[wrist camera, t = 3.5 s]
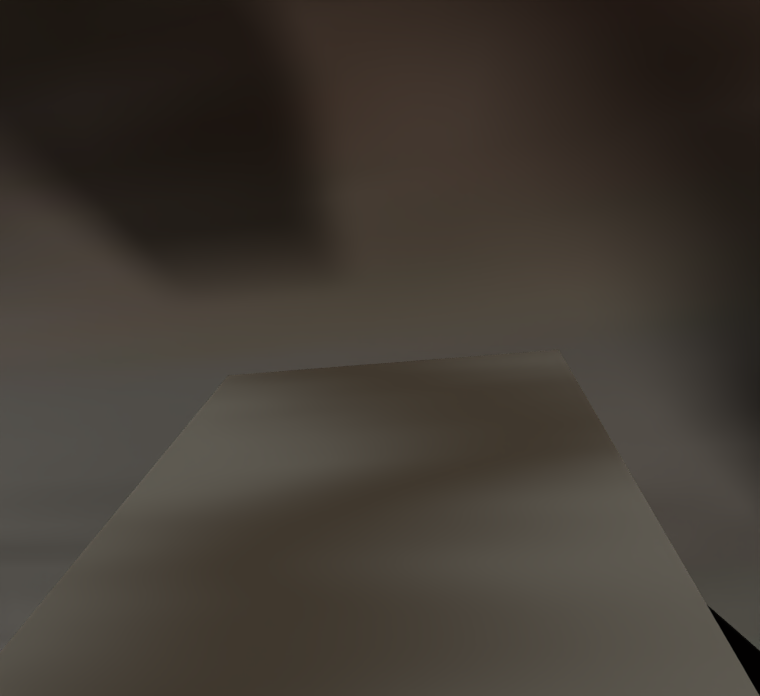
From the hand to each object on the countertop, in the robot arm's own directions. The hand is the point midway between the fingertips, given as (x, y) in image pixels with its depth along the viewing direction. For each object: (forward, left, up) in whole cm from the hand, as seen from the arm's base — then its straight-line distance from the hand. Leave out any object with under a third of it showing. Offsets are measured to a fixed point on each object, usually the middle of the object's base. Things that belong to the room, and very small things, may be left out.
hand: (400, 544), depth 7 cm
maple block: (0, 0, -1) cm, 1 cm away
